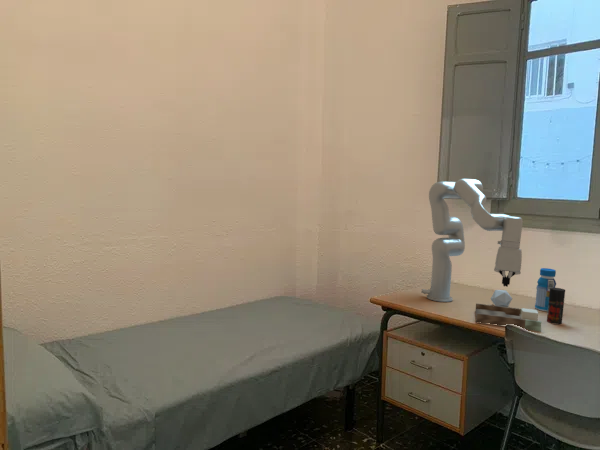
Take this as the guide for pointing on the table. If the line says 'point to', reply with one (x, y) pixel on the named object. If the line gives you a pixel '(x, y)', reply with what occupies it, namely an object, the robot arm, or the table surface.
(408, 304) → the table surface
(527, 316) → the pale blue block
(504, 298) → the die
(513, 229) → the robot arm
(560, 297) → the deodorant
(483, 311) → the box
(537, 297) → the beverage bottle
